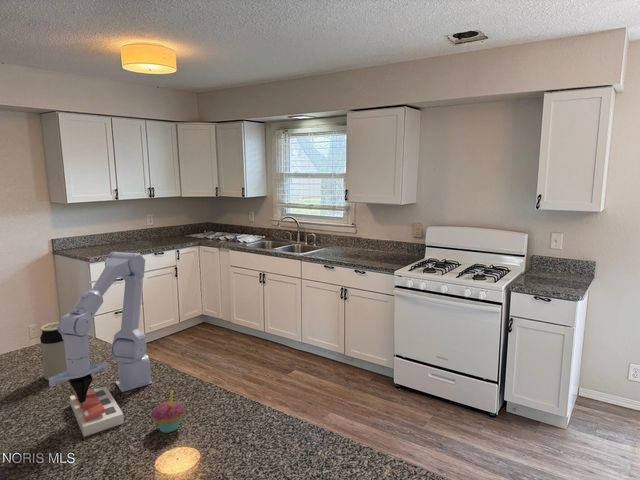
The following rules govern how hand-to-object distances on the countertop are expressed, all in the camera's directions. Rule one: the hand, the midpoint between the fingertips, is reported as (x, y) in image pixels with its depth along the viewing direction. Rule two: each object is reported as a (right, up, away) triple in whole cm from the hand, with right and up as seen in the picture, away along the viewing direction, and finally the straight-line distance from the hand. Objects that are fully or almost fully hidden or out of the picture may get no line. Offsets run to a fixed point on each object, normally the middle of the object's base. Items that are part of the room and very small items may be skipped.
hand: (81, 401), depth 122 cm
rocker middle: (+1, -1, +1) cm, 2 cm away
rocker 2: (+5, -2, -3) cm, 6 cm away
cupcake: (+26, -6, -4) cm, 27 cm away
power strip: (-1, -4, +7) cm, 8 cm away
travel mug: (-23, -1, +26) cm, 34 cm away
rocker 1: (-2, 0, +6) cm, 6 cm away
